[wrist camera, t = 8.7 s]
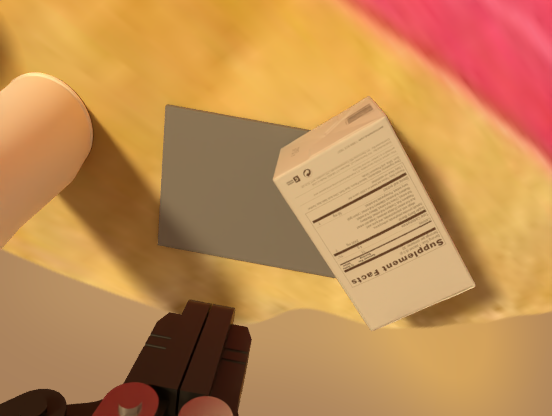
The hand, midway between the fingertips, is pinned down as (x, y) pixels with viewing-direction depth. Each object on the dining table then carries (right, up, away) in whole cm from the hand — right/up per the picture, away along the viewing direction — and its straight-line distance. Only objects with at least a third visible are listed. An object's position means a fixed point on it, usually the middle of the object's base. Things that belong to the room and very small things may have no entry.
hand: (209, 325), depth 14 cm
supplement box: (+6, +10, +18) cm, 21 cm away
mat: (+1, +5, +26) cm, 27 cm away
